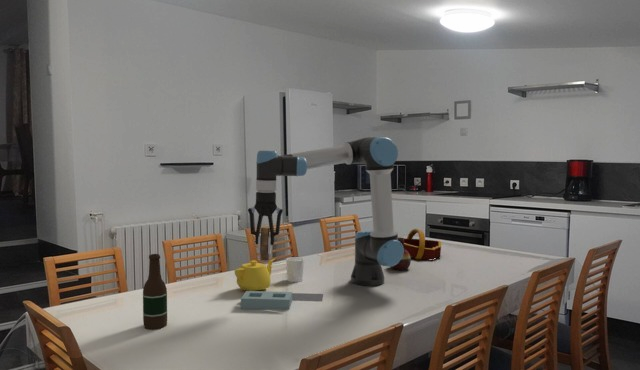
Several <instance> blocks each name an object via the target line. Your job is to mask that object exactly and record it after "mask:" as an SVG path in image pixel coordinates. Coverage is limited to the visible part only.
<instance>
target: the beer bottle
mask: <svg viewBox="0 0 640 370" xmlns="http://www.w3.org/2000/svg"><path fill="white" fill-rule="evenodd" d="M148 259H149V261H148V262H149V266H148V277H147V280H146V281H145V283H144V285H143V287H142V319H143V320H142V322H143V327H144V329H145V330H149V331H150V330H151V331H154V330H161V328H162V329H164V328H165V327H167V325H168V293H167V292H168V291H167V286H166V283H165V282H164V280H163V279H162V274H161V273H162V272H161V260H160V259H161V256H160V254H159V253H151V254H149V255H148Z"/></svg>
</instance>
